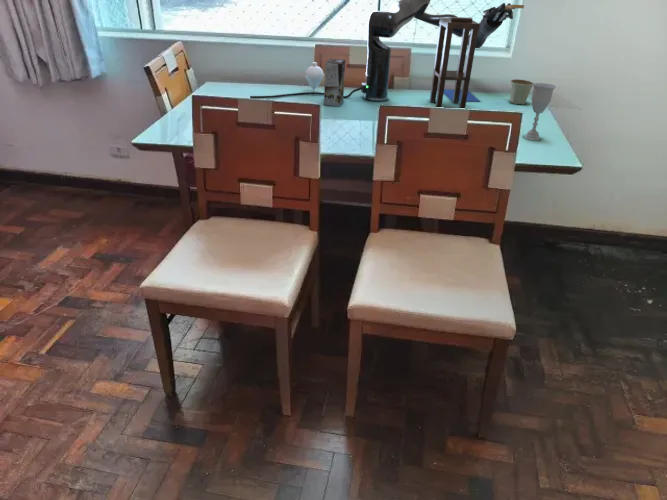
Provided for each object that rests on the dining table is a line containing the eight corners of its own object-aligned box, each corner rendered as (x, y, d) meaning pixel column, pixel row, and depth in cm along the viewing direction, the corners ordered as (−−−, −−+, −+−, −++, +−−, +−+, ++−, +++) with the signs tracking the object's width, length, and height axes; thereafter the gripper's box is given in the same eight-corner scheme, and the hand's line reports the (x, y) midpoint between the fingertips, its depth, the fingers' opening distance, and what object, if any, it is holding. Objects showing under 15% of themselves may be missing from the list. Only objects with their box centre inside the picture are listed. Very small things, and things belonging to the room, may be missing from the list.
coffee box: (339, 106, 217) (341, 63, 208) (323, 105, 217) (324, 62, 209) (343, 100, 224) (346, 59, 216) (328, 99, 225) (329, 57, 217)
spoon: (493, 9, 226) (496, -4, 223) (507, 10, 227) (509, -4, 224) (509, 19, 211) (512, 4, 208) (523, 19, 211) (526, 5, 209)
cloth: (451, 101, 232) (451, 100, 232) (441, 90, 247) (441, 89, 247) (479, 101, 233) (479, 101, 233) (467, 90, 248) (467, 90, 248)
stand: (435, 109, 220) (448, 19, 203) (428, 101, 230) (440, 14, 213) (465, 110, 221) (480, 20, 204) (457, 101, 231) (470, 15, 215)
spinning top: (302, 93, 231) (303, 63, 225) (307, 89, 238) (308, 59, 232) (320, 95, 230) (321, 65, 224) (325, 90, 237) (326, 61, 231)
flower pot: (529, 101, 237) (533, 80, 233) (529, 106, 230) (534, 85, 225) (506, 98, 239) (510, 78, 235) (506, 104, 232) (510, 83, 227)
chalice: (538, 135, 197) (551, 83, 188) (545, 141, 191) (559, 88, 182) (518, 134, 196) (529, 82, 187) (525, 140, 191) (537, 87, 182)
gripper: (505, 32, 238) (523, 15, 220) (474, 31, 236) (490, 14, 219) (505, 14, 238) (523, -4, 220) (474, 13, 236) (490, -5, 219)
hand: (506, 5), depth 220 cm, fingers closed on spoon, 1 cm apart
